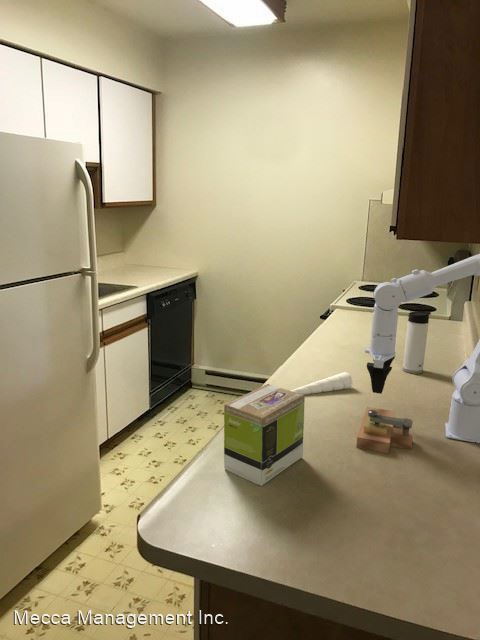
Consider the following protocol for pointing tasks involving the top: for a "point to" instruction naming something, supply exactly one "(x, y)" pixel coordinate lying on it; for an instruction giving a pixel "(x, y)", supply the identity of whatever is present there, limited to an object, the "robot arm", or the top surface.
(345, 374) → the unicorn horn
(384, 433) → the wooden block with bolt
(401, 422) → the lever
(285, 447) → the tea box
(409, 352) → the travel mug
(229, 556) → the top surface
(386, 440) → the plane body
